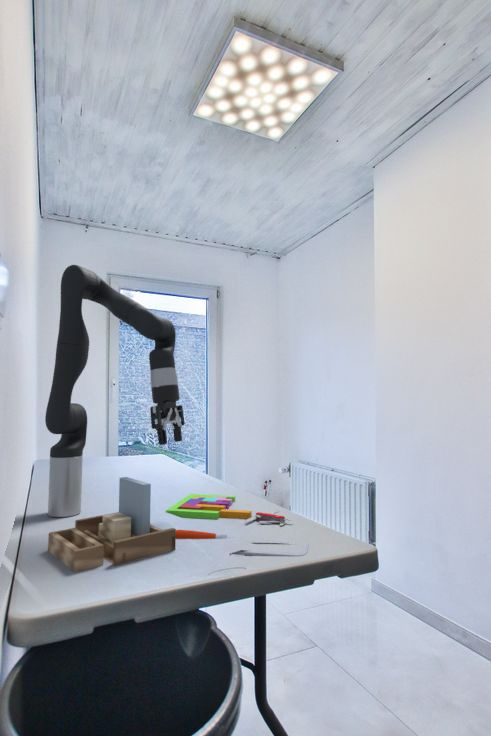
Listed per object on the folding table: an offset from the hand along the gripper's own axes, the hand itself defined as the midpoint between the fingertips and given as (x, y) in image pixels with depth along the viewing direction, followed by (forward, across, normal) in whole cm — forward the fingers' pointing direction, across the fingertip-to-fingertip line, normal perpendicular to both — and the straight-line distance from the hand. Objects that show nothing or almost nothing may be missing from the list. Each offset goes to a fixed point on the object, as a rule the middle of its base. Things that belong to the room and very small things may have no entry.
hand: (170, 442), depth 119 cm
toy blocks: (+24, -21, +2) cm, 32 cm away
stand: (+21, +31, -8) cm, 39 cm away
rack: (+22, +21, -4) cm, 30 cm away
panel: (+21, +18, -2) cm, 28 cm away
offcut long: (+21, +22, -4) cm, 31 cm away
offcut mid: (+18, +22, -4) cm, 29 cm away
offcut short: (+16, +23, -3) cm, 28 cm away
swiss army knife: (+26, -13, +22) cm, 37 cm away
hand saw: (+26, +10, +21) cm, 35 cm away
